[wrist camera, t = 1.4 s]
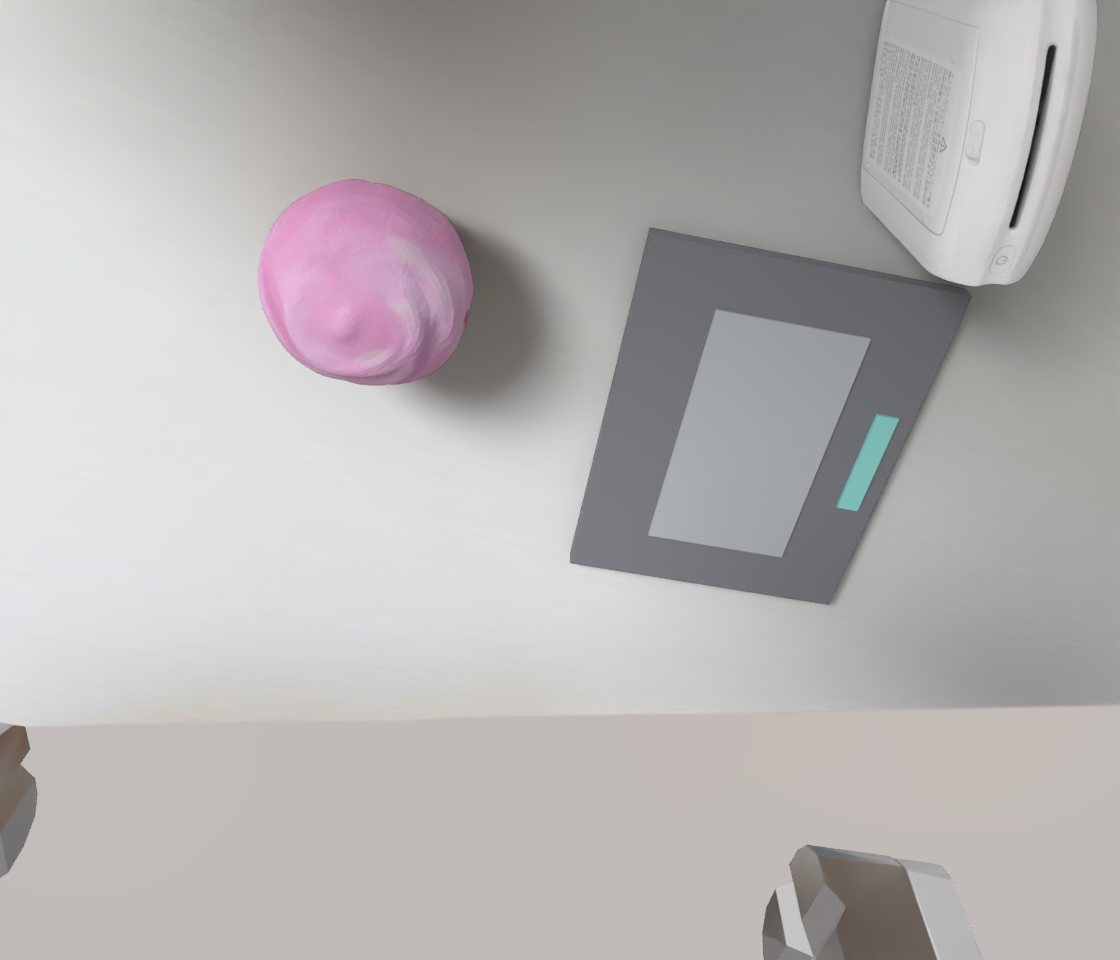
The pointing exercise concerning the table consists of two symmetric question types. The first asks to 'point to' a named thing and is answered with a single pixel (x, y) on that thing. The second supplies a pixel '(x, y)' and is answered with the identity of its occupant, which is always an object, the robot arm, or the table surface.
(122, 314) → the table surface
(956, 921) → the robot arm
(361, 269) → the cupcake
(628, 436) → the charging mat
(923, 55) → the photo printer
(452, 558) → the table surface
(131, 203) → the table surface
